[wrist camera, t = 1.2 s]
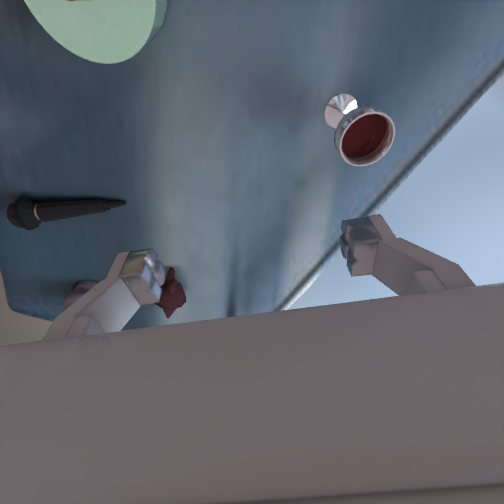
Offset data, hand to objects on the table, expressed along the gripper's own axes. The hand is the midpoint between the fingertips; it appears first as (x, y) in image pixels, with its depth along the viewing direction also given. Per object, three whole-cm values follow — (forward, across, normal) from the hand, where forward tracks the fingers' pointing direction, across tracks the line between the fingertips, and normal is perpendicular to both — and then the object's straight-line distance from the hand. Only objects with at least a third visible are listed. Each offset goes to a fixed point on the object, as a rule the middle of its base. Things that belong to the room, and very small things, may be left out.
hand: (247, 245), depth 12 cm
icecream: (+37, +25, +41) cm, 61 cm away
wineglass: (+37, -14, +7) cm, 40 cm away
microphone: (+37, +35, +16) cm, 54 cm away
